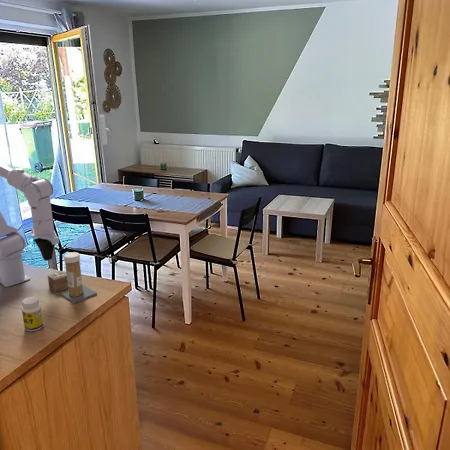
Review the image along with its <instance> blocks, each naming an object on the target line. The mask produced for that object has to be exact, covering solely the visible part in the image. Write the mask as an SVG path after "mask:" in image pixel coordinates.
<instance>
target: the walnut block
mask: <svg viewBox="0 0 450 450" xmlns="http://www.w3.org/2000/svg"><path fill="white" fill-rule="evenodd" d="M47 281H48V287H49V289H50V290H52V291H53V292H55V293H58V292H60V291H63V290H65V289H68V283H67V275H66V273H64V272H63V271H57V272H54V273H52V274H48V275H47Z"/></svg>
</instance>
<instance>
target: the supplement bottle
mask: <svg viewBox="0 0 450 450" xmlns="http://www.w3.org/2000/svg"><path fill="white" fill-rule="evenodd" d="M21 304H22V308H21V312H22V320H23V326H24V330H25V331H28V332H36V331H39V330H41V329H42V328H43V326H44V320H43V313H42V311H43V310H42V306H41V304H40V302H39V298H38V297H36V296H29V297H25V298H24V299H23V300H22V301H21Z"/></svg>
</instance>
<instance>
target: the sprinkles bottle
mask: <svg viewBox="0 0 450 450" xmlns="http://www.w3.org/2000/svg"><path fill="white" fill-rule="evenodd" d="M80 255H81V254H80V253H79V252H76V251H73V252H72V251H71V252H67V253H65V254H64V255H63V260H64V265H65V274H66V275H67V283H68V288H67V289H68V290H69V295H70V296H73V297H75V296H80V295H81V294H83V287H82V285H83V277H82V271H81V270H82V269H81V263H80V261H81V257H80Z"/></svg>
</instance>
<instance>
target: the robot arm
mask: <svg viewBox="0 0 450 450" xmlns="http://www.w3.org/2000/svg"><path fill="white" fill-rule="evenodd" d="M0 177H2V178H4V179H6V181H7V184H8V185H9V186H11V187H13V188H14V189H16V190H18V191H19V192H22V193H23V194H24V197H25V199H26V200H27V202H28V204H27V205H29V207H30V211H31V220H32V226H31V227H30V231H31V234H30V237H31V238H32V239H33V242H34V243H35V245H36V246H37V247H38V250H39V251H40V253H41V257H42V259H43V260H44V261H50V260H52V259H53V253H54V248H55V245H57V244H60V238H59V236H57V233H56V231H55V227H54V219H53V213H52V203H51V196H52V195H53V193H54V187H53V186H54V185H53V184H52V183H51V181H50V180H49V179H47V178H45V177H42V178H37V176H35V175H31V174H30V173H28V172H27V171H25V169H24V168H22V167H20V168H12V167H11V166H9V165H7V164H6V163H4V162H3V161H1V160H0ZM26 246H27V245H26V239H25V238H24V236H23V235H22V234H21V233H20V232H19V231H18V228H16V227H15V226H10V225H9V224H8V223H7V221H6V219H5V218H4V216H3V214H2V212H1V211H0V284H1V285H2V286H3V287H6V288H8V287H11V286H14V285H17V284H20V283H24V282H26V281H30V280H31V278H30V277H29V276H28V275H26V274H25V268H24V261H23V256H22V254H23V253H24V249H25V248H26Z"/></svg>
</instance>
